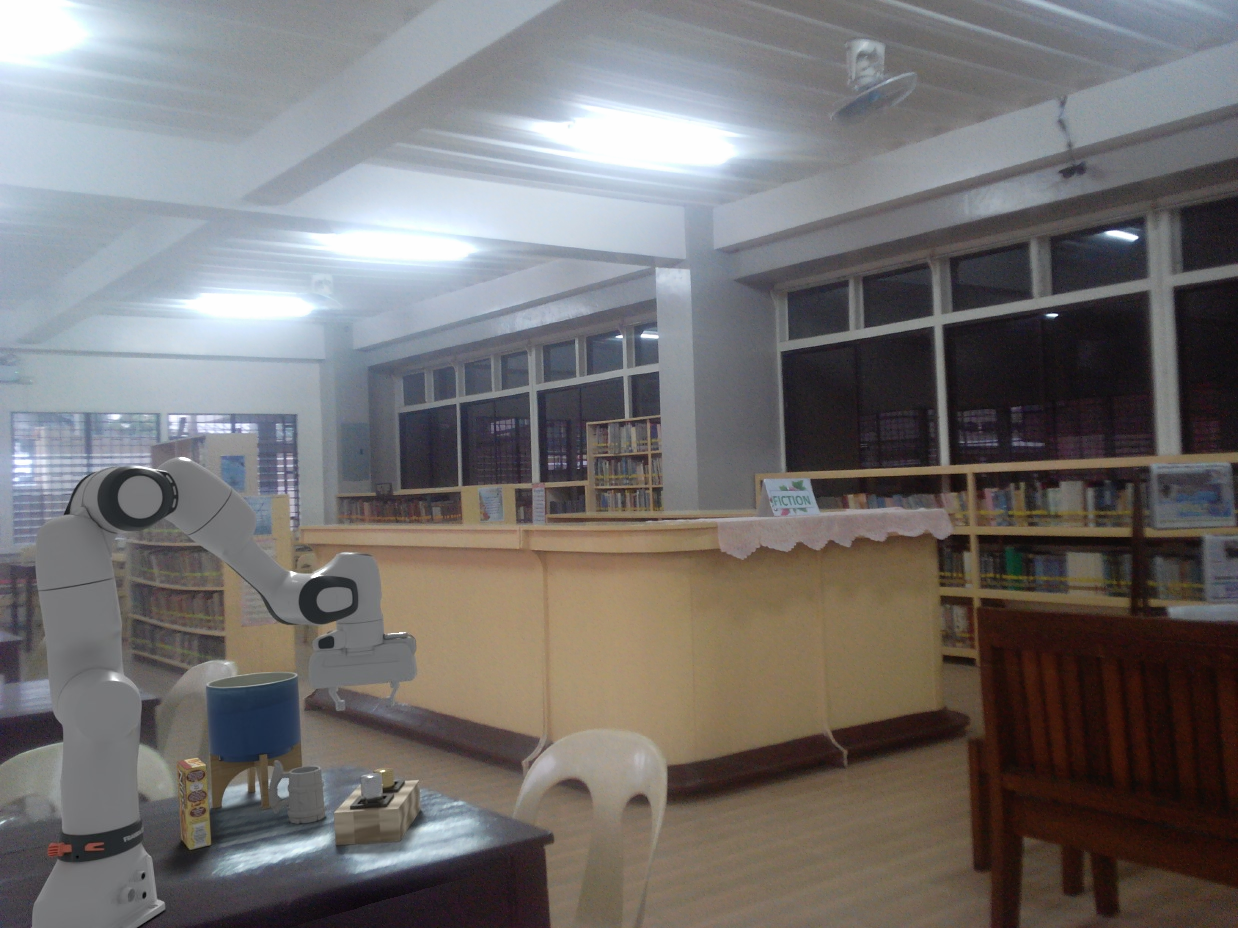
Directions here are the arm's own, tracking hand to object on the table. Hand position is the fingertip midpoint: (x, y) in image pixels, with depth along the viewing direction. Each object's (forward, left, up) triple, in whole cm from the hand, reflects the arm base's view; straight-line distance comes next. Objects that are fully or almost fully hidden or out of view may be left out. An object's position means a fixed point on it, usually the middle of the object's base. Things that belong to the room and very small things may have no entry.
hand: (365, 707), depth 200 cm
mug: (+14, +19, -24) cm, 34 cm away
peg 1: (0, 0, -19) cm, 19 cm away
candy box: (+2, +35, -24) cm, 42 cm away
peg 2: (+10, 0, -21) cm, 23 cm away
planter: (+31, +33, -24) cm, 51 cm away
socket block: (+5, 0, -24) cm, 24 cm away
